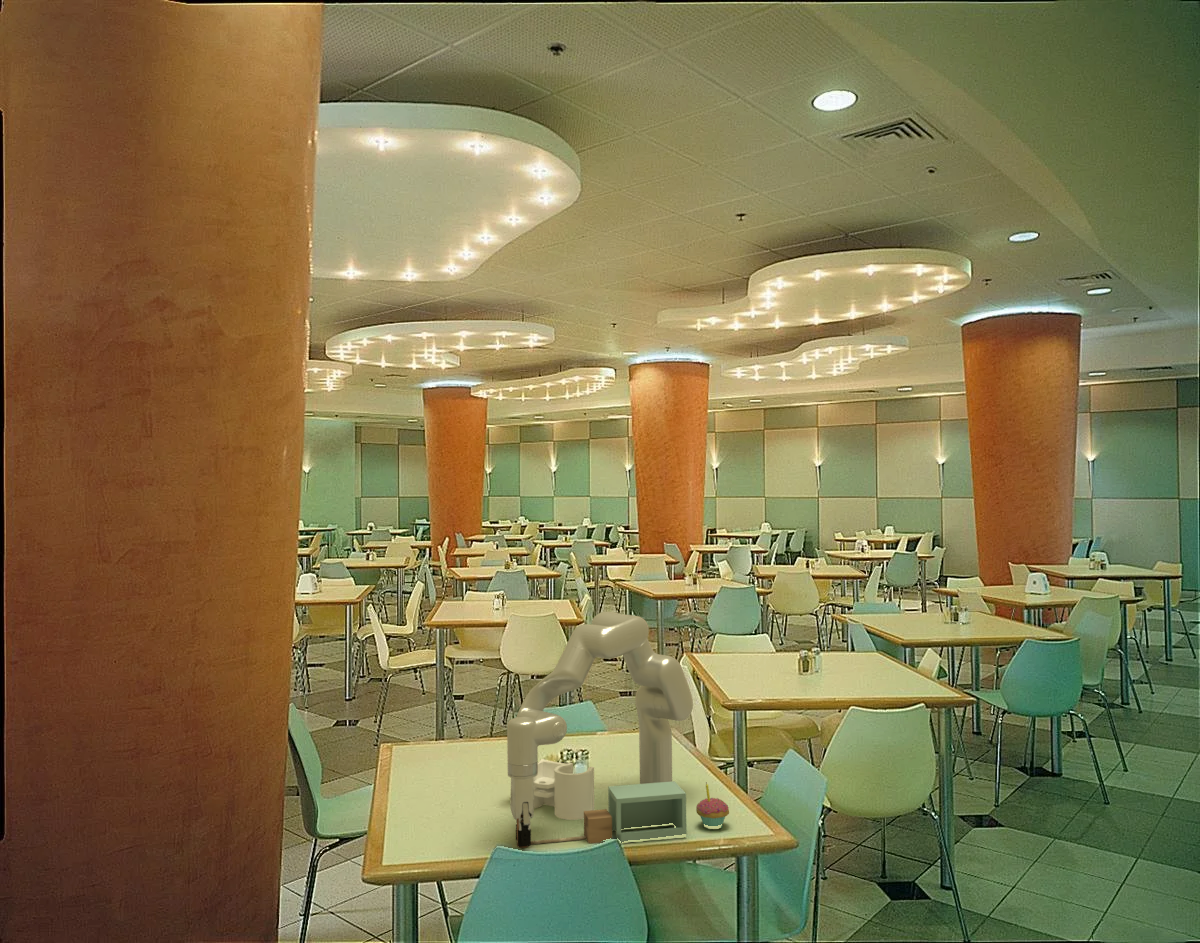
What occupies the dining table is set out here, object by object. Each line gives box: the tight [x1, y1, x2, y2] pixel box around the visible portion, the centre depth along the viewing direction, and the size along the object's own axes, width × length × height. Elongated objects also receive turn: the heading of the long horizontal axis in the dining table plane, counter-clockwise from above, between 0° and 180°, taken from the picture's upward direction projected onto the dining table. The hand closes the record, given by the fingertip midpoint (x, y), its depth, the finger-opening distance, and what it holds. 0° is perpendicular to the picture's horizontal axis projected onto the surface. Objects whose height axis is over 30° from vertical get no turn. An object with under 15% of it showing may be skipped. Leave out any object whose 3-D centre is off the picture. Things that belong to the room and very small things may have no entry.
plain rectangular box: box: [607, 780, 688, 843], centre depth 231 cm, size 10×18×11 cm, turn 102°
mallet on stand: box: [516, 808, 613, 849], centre depth 227 cm, size 6×24×7 cm, turn 103°
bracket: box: [533, 758, 595, 821], centre depth 251 cm, size 25×10×12 cm, turn 58°
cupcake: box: [695, 781, 730, 826], centre depth 236 cm, size 9×8×12 cm
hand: (523, 842), depth 224 cm, fingers closed on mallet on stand, 3 cm apart
